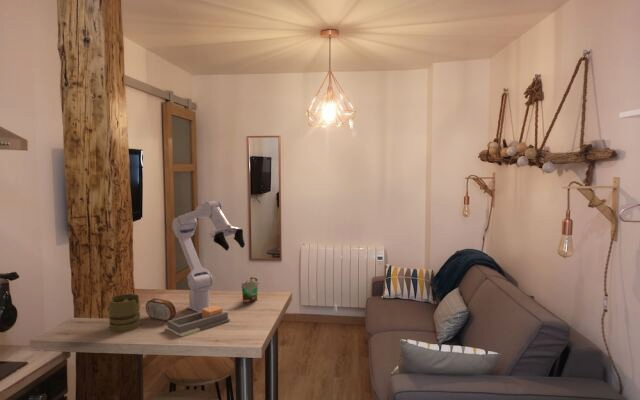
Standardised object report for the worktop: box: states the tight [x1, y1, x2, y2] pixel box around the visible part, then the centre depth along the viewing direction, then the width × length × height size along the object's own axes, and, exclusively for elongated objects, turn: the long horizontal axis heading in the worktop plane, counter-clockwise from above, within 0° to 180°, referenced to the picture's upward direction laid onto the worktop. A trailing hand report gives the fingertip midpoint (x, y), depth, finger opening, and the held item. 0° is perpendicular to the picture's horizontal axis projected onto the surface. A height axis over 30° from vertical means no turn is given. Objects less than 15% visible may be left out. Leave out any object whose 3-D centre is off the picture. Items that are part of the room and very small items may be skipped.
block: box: [202, 305, 223, 318], centre depth 178 cm, size 6×6×4 cm
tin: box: [145, 297, 177, 322], centre depth 180 cm, size 15×3×8 cm, turn 65°
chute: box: [165, 311, 230, 337], centre depth 174 cm, size 12×22×4 cm, turn 136°
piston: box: [108, 293, 141, 333], centre depth 171 cm, size 11×12×11 cm
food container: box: [241, 276, 260, 304], centre depth 204 cm, size 12×6×10 cm, turn 168°
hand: (235, 247), depth 172 cm, fingers open, 7 cm apart
